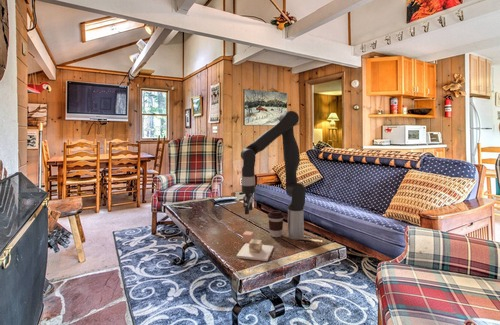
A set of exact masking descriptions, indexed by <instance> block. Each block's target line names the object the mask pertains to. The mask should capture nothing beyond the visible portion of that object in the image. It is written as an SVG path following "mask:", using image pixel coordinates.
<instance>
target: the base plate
mask: <svg viewBox="0 0 500 325" xmlns="http://www.w3.org/2000/svg"><path fill="white" fill-rule="evenodd" d="M273 250H274V246H273V245H266V244H262V250H261V251H260V253H252V252H249V243H244V245H243V246H242V247H241V249H240V250H239V251H238V253H237V254H236V258H237V259H245V260H246V259H247V260H253V261H263V262H268V261H269V260H270V257H271V254H272V252H273Z"/></svg>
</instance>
